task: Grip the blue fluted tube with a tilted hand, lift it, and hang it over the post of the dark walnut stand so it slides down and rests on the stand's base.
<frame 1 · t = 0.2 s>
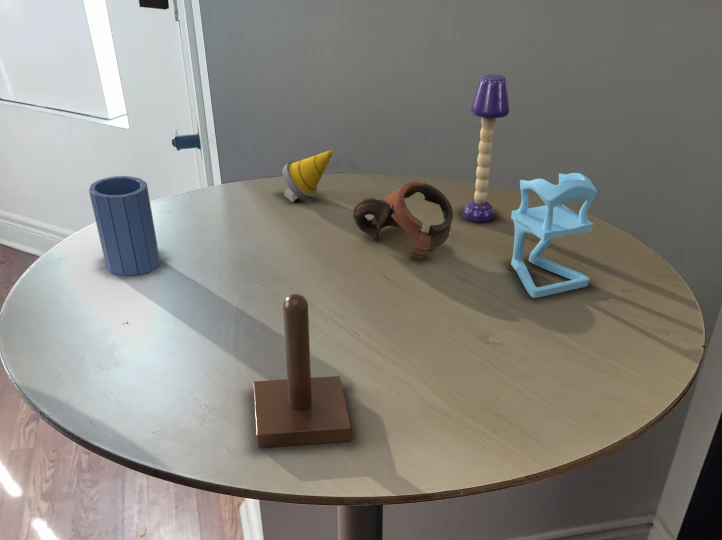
drill bit: (308, 198, 106), on the table
toy lamp: (478, 216, 103), on the table
brown looped strap: (399, 246, 96), on the table
blue fluted tube: (133, 263, 91), on the table
chair: (540, 278, 91), on the table
stand: (301, 417, 70), on the table
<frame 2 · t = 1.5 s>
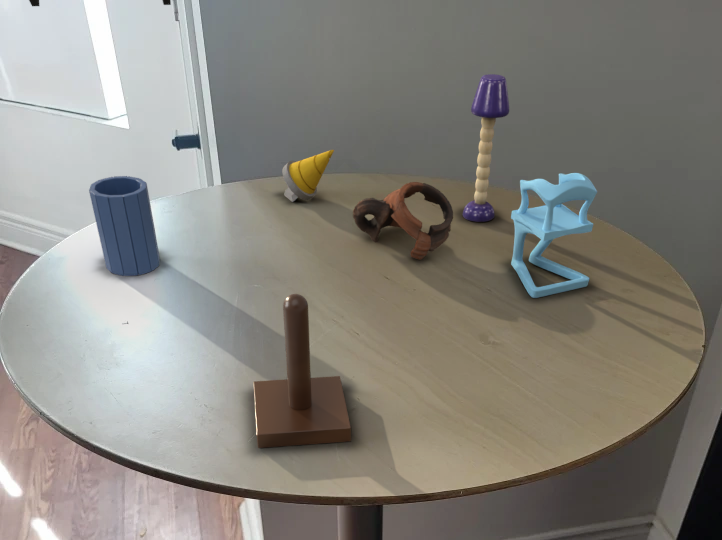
nothing on the table moved.
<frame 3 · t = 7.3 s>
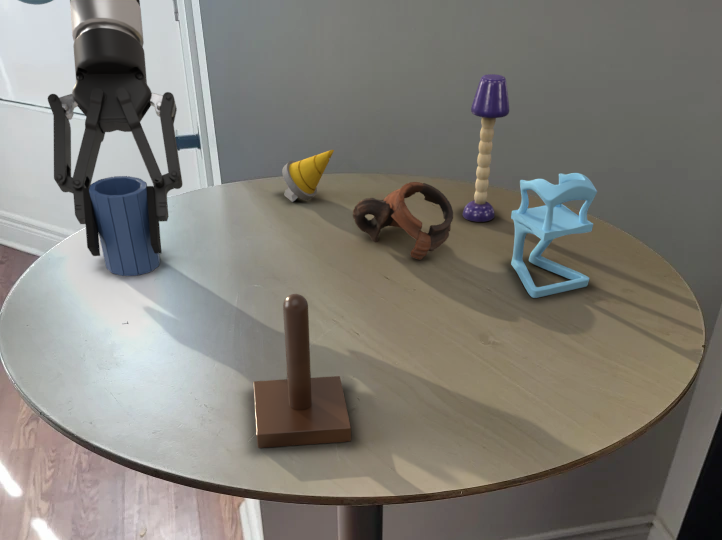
hand: (125, 249, 86), 3 cm above the table, tool tilted 45°, fingers closed on blue fluted tube, 6 cm apart
blue fluted tube: (133, 263, 91), on the table, touching gripper
everything else where it was.
when the fingers open (7 cm above the table, at t = 18.9 s): blue fluted tube drops 2 cm, resting on stand.
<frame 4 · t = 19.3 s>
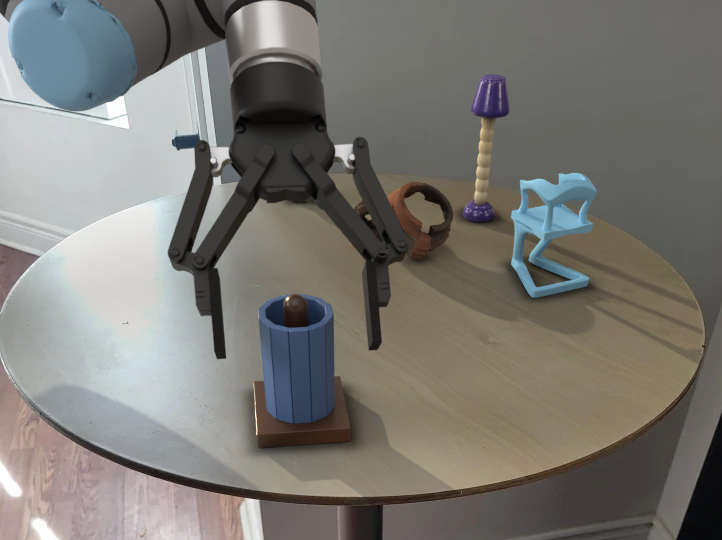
hand: (298, 351, 62), 9 cm above the table, tool tilted 45°, fingers open, 12 cm apart
blue fluted tube: (300, 403, 69), point 1 cm above the table, touching stand
everything else where it was.
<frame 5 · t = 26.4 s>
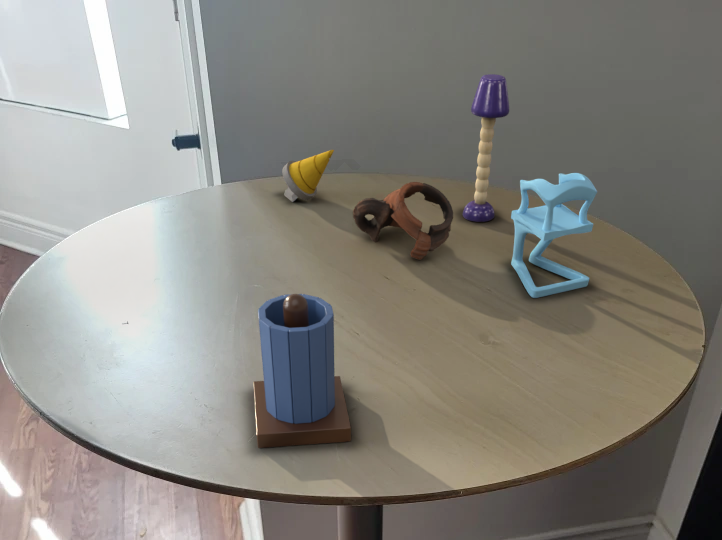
nothing on the table moved.
at the end: blue fluted tube 0.1 cm off-centre on the stand, point 1.5 cm above the stand's base; blue fluted tube tilted 0°; the gripper is holding nothing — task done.
